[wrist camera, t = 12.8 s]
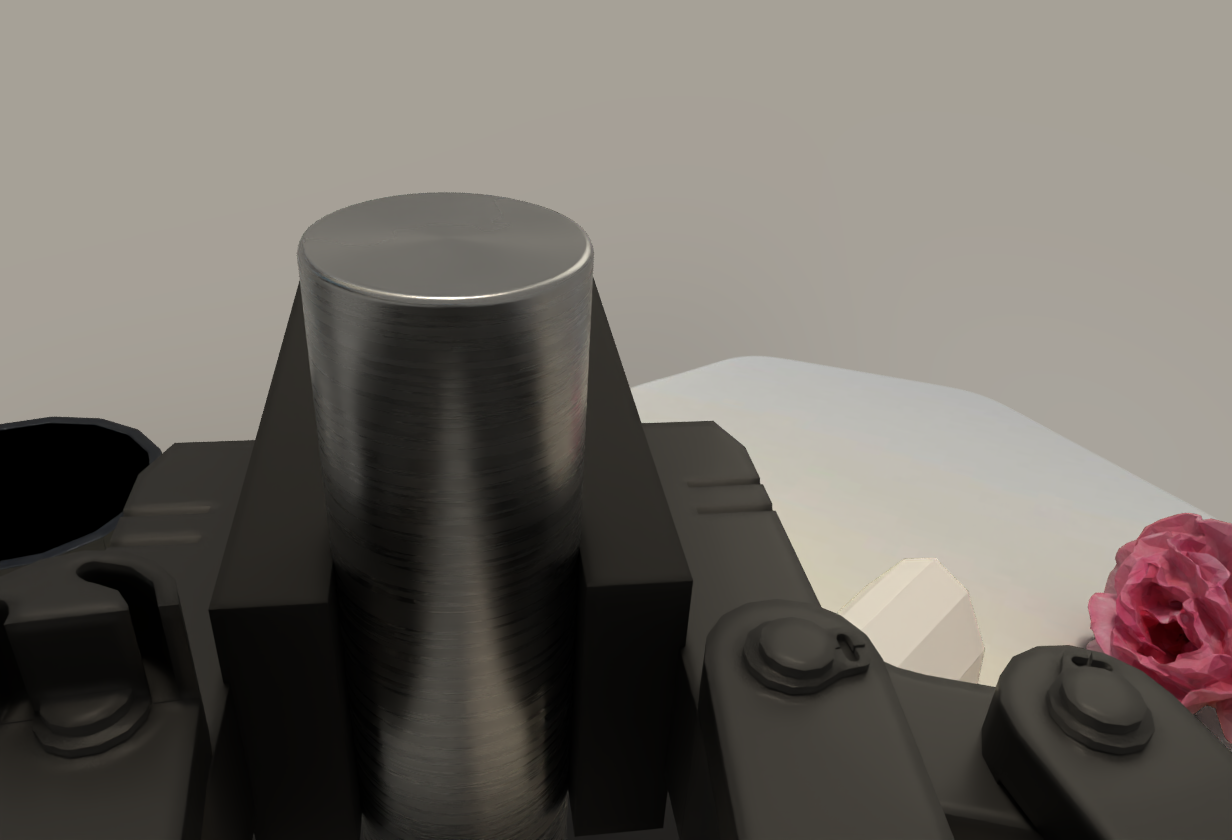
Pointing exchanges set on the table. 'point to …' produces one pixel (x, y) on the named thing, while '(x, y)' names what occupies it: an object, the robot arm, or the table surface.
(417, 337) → the lid
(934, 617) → the crystal
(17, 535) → the faceted pencil cup
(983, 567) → the table surface
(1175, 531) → the flower
